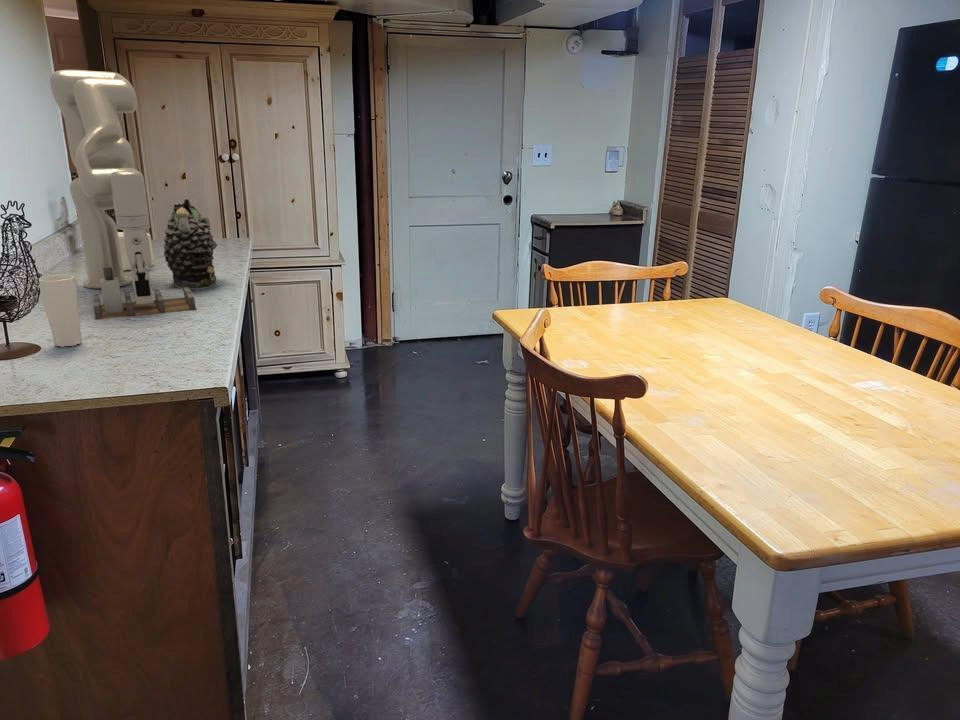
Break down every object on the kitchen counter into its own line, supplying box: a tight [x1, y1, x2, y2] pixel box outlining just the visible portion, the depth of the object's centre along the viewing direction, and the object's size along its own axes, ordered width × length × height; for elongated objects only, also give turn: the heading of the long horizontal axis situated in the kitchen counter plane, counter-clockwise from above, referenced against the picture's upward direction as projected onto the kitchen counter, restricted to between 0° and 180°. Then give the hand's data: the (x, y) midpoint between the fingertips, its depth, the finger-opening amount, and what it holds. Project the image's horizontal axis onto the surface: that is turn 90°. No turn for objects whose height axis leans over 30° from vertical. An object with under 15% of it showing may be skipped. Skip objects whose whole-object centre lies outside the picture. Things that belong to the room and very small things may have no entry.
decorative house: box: [163, 199, 218, 291], centre depth 208 cm, size 21×15×25 cm
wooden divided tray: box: [92, 287, 197, 320], centre depth 180 cm, size 15×23×4 cm, turn 118°
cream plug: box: [130, 266, 154, 304], centre depth 178 cm, size 4×4×11 cm
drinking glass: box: [38, 274, 83, 348], centre depth 152 cm, size 7×7×15 cm
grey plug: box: [100, 267, 123, 313], centre depth 176 cm, size 4×4×11 cm
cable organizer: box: [117, 231, 155, 272], centre depth 231 cm, size 15×11×12 cm
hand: (143, 293), depth 179 cm, fingers closed on cream plug, 3 cm apart
